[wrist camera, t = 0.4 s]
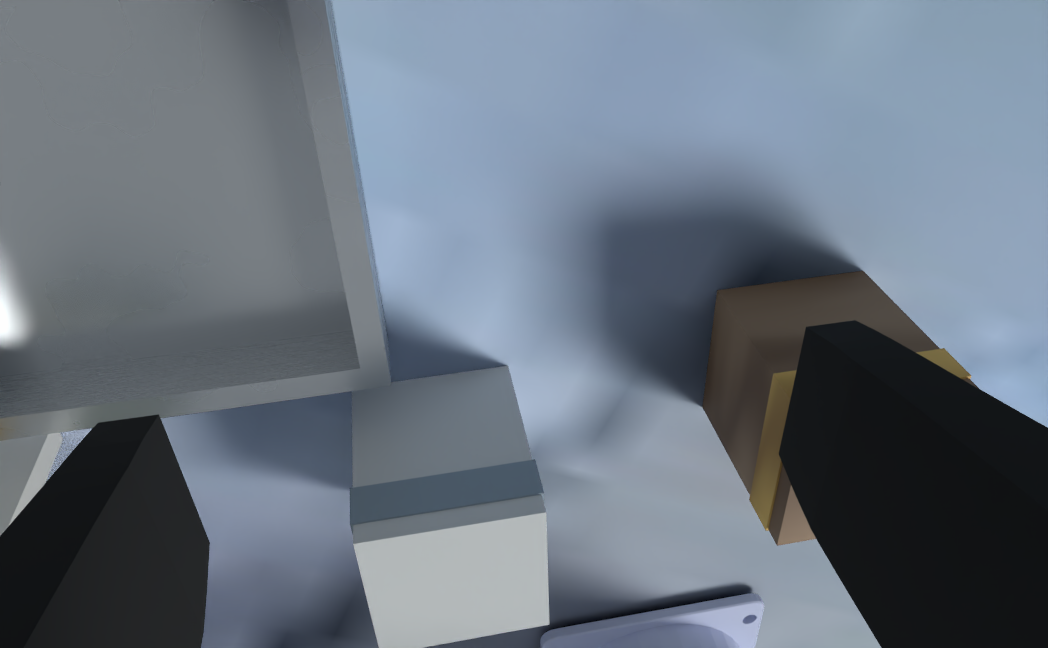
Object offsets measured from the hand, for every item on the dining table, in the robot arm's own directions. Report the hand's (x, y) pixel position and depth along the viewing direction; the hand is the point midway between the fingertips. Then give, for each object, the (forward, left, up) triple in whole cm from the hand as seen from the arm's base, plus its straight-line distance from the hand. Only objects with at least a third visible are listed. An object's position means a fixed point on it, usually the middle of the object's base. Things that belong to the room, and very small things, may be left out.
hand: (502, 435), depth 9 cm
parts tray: (-1, +6, -9) cm, 11 cm away
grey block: (-9, +1, -9) cm, 13 cm away
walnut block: (-7, -9, -9) cm, 15 cm away
